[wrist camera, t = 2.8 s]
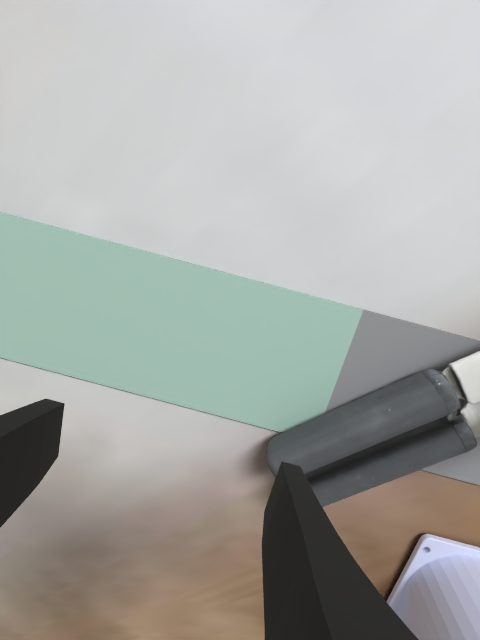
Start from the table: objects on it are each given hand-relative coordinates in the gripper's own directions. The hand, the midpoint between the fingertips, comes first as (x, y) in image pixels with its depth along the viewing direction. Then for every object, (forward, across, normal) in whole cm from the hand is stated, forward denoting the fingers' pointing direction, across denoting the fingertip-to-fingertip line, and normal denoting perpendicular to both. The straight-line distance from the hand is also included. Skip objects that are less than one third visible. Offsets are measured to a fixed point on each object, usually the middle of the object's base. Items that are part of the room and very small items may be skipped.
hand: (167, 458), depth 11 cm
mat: (+10, -5, 0) cm, 12 cm away
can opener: (+10, -13, 0) cm, 16 cm away
